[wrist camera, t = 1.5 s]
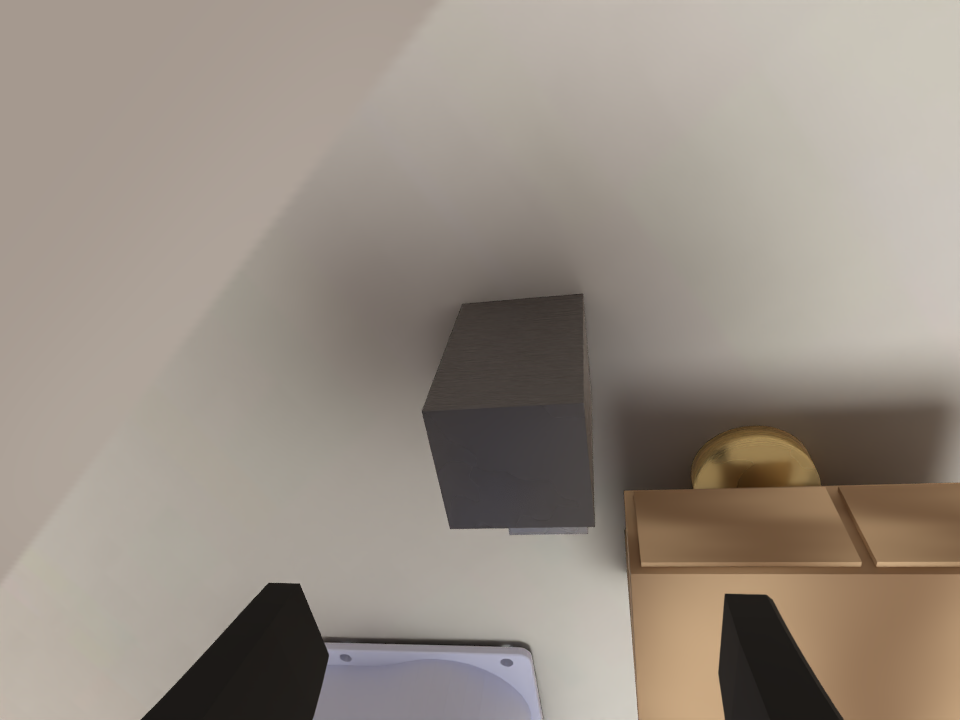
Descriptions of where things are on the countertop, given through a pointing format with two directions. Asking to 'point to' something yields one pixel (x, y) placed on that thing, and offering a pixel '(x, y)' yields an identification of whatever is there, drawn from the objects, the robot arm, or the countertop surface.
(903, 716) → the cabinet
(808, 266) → the countertop surface
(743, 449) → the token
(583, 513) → the dark grey block
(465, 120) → the countertop surface
